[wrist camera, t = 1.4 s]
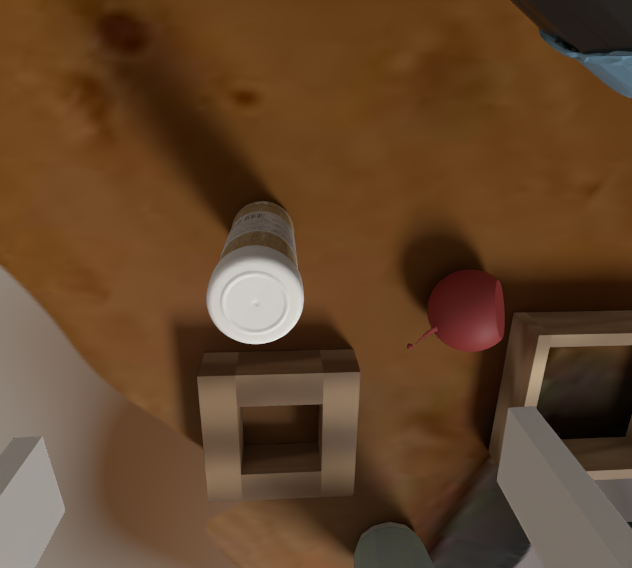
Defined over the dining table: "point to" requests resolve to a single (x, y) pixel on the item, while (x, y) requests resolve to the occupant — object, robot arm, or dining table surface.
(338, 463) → the collar block
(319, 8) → the dining table surface
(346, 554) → the dining table surface
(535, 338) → the open square frame
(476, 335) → the fruit
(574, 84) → the dining table surface
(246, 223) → the sprinkles bottle
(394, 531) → the disposable coffee cup
